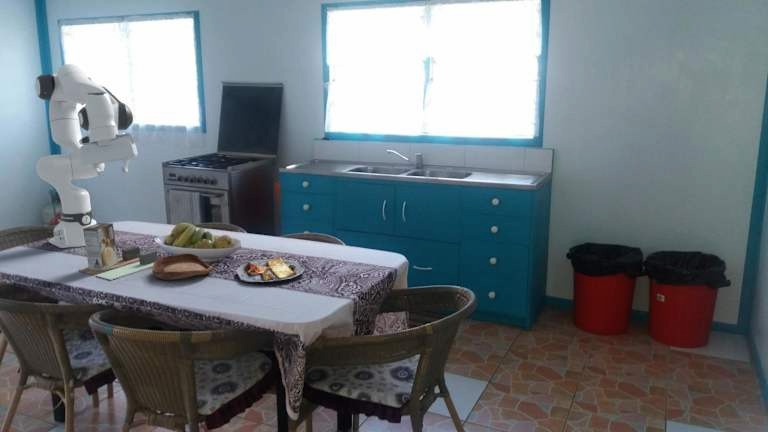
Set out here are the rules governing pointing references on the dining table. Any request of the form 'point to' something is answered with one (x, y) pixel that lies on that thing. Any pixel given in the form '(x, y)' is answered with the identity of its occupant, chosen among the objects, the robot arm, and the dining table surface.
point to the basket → (179, 266)
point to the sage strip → (132, 266)
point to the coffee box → (100, 246)
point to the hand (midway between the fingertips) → (113, 174)
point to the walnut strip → (120, 260)
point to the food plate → (269, 270)
